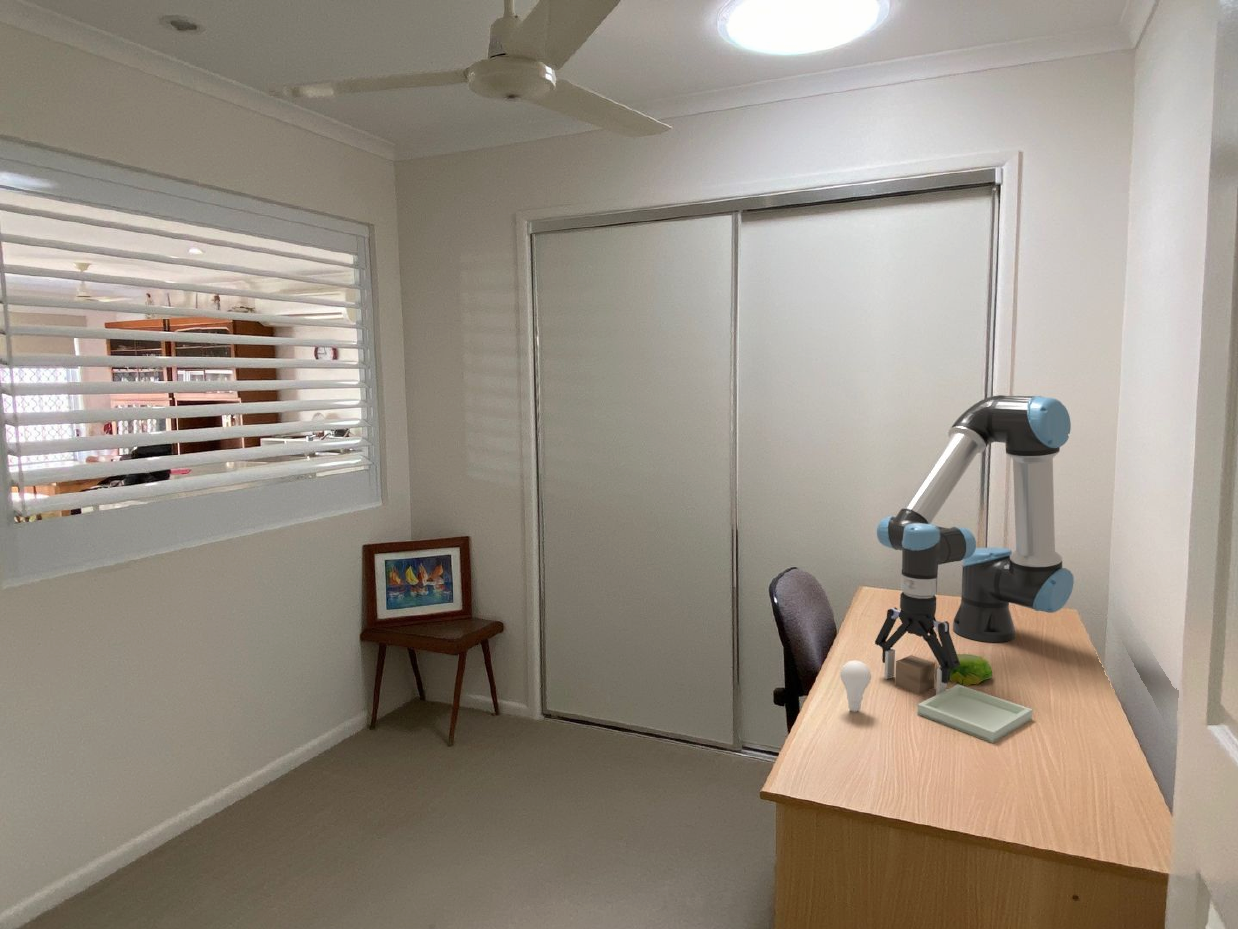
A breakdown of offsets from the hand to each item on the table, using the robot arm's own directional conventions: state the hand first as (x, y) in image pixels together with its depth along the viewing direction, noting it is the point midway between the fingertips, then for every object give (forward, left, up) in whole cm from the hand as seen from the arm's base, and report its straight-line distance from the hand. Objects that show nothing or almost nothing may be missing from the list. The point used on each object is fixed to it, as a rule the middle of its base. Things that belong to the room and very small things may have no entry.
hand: (914, 686), depth 176 cm
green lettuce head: (-15, +4, -1) cm, 15 cm away
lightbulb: (+21, -1, 0) cm, 21 cm away
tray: (+4, +16, 0) cm, 16 cm away
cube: (0, 0, 0) cm, 0 cm away
